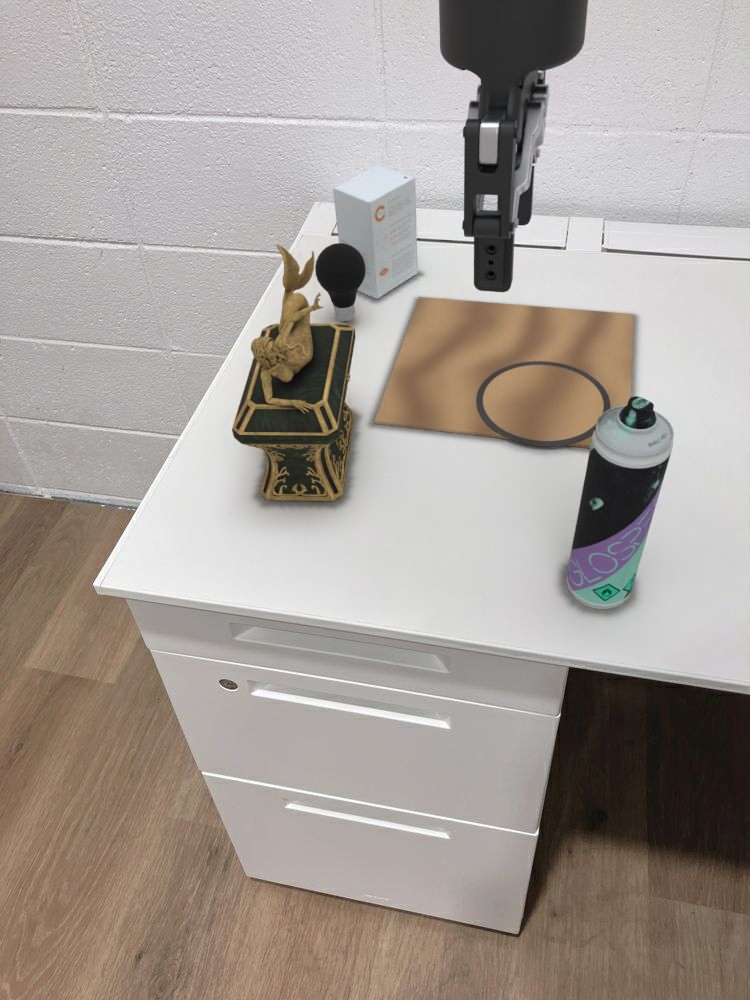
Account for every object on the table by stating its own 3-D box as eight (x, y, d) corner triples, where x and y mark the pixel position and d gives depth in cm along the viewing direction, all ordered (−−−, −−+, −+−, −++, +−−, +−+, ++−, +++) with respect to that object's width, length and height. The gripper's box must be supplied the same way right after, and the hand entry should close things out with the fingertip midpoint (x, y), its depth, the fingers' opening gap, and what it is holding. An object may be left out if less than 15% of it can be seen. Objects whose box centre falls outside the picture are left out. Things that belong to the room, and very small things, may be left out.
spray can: (563, 603, 67) (597, 424, 53) (568, 554, 71) (601, 373, 57) (630, 614, 66) (684, 433, 52) (632, 563, 70) (682, 381, 55)
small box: (383, 258, 108) (378, 162, 99) (419, 274, 105) (417, 176, 95) (341, 284, 104) (331, 186, 95) (376, 300, 101) (369, 202, 92)
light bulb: (347, 340, 95) (339, 265, 88) (312, 324, 98) (301, 249, 91) (379, 317, 98) (374, 243, 91) (344, 302, 101) (336, 228, 94)
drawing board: (633, 316, 95) (634, 313, 95) (627, 459, 79) (628, 455, 78) (419, 299, 101) (419, 295, 100) (371, 429, 84) (371, 425, 84)
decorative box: (349, 515, 76) (328, 343, 62) (250, 513, 77) (206, 343, 63) (367, 383, 90) (353, 217, 75) (282, 383, 90) (253, 219, 76)
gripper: (579, -14, 34) (551, 319, 45) (603, -85, 43) (575, 205, 55) (405, -10, 35) (421, 310, 47) (466, -79, 45) (466, 201, 56)
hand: (504, 253), depth 51 cm, fingers open, 8 cm apart
